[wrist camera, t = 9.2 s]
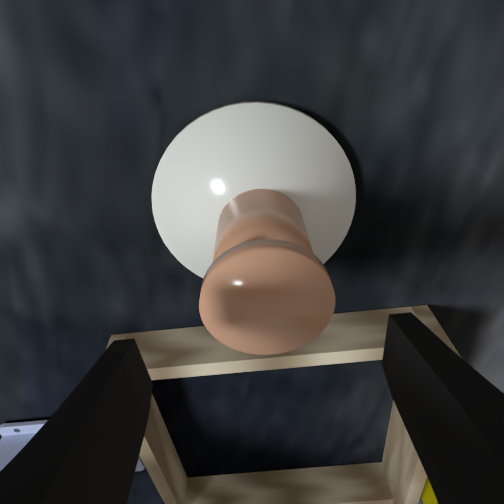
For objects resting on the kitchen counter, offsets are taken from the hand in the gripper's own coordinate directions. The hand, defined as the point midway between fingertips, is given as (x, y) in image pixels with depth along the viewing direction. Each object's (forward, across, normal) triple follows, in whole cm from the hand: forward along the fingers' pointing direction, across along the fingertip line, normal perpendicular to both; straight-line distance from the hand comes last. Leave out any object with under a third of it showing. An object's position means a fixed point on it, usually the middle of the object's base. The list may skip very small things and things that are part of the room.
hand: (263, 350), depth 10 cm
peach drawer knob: (+9, 0, +1) cm, 9 cm away
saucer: (+9, 0, 0) cm, 9 cm away
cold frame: (+9, 0, +18) cm, 20 cm away
